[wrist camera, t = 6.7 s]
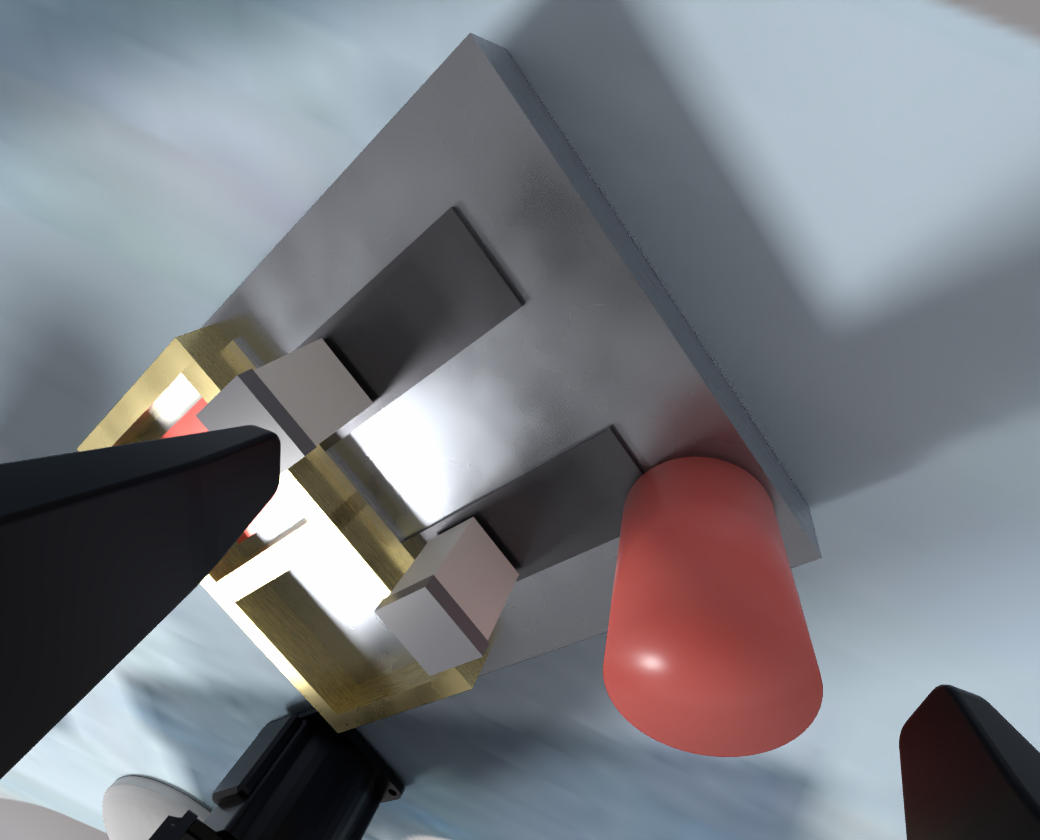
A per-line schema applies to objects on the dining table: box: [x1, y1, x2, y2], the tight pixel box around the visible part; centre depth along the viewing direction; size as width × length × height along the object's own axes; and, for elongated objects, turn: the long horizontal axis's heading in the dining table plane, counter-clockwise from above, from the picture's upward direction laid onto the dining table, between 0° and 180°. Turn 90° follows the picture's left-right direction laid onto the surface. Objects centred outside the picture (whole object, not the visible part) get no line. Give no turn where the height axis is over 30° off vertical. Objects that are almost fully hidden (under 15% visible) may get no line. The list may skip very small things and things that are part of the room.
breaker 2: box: [374, 517, 519, 676], centre depth 17 cm, size 2×2×3 cm
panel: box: [77, 33, 822, 733], centre depth 19 cm, size 16×20×4 cm
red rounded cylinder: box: [603, 457, 823, 757], centre depth 13 cm, size 4×4×6 cm
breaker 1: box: [195, 338, 373, 475], centre depth 16 cm, size 2×2×3 cm
